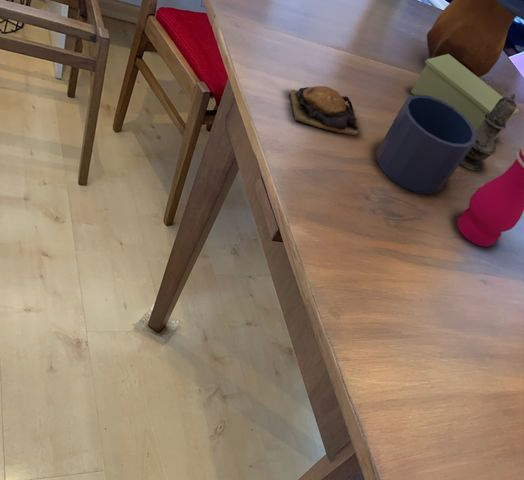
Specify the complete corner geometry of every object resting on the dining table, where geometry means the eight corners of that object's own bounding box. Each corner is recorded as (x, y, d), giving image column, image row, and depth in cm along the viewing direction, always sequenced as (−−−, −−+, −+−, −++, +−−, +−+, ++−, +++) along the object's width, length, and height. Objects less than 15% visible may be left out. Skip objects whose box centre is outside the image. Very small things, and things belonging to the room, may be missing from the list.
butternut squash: (470, 65, 115) (557, -73, 96) (484, 101, 107) (582, -40, 88) (410, 43, 112) (488, -104, 92) (420, 79, 104) (507, -73, 84)
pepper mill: (455, 206, 83) (550, 83, 68) (497, 227, 84) (601, 109, 68) (452, 236, 79) (552, 111, 63) (497, 257, 79) (608, 139, 64)
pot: (455, 182, 87) (489, 136, 81) (417, 203, 81) (450, 154, 74) (403, 137, 90) (432, 89, 83) (362, 153, 83) (389, 102, 77)
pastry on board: (293, 124, 82) (302, 101, 79) (287, 90, 87) (296, 68, 84) (358, 139, 85) (369, 118, 83) (349, 106, 90) (359, 85, 87)
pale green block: (497, 139, 100) (519, 110, 95) (477, 149, 96) (500, 119, 91) (430, 84, 104) (448, 53, 99) (408, 91, 100) (426, 59, 95)
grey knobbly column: (481, 176, 91) (531, 112, 81) (449, 160, 91) (496, 93, 81) (484, 159, 94) (532, 95, 85) (453, 143, 94) (499, 77, 85)
